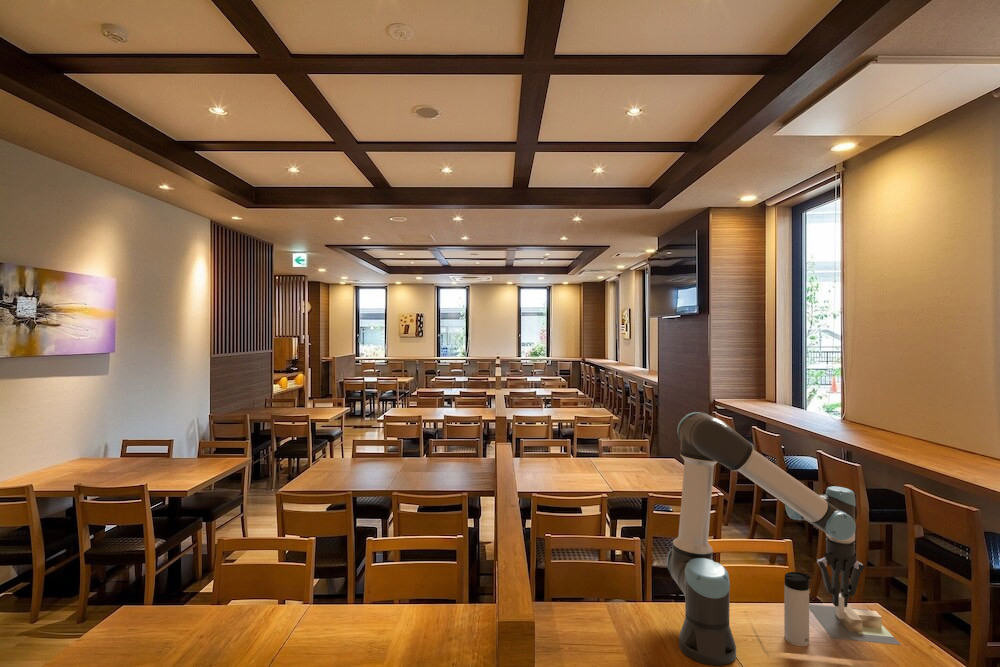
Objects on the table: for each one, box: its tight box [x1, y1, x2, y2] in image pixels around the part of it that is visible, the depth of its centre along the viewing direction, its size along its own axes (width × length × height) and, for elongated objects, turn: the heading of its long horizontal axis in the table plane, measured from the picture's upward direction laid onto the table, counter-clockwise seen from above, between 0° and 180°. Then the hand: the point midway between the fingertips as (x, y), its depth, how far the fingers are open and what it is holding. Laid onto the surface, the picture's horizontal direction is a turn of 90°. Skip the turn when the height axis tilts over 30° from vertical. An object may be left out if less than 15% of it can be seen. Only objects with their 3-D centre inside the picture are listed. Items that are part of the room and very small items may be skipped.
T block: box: [834, 604, 883, 632], centre depth 163 cm, size 10×10×4 cm
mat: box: [809, 603, 902, 646], centre depth 164 cm, size 18×20×1 cm
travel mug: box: [783, 571, 811, 647], centre depth 155 cm, size 6×7×20 cm
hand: (839, 616), depth 164 cm, fingers closed
